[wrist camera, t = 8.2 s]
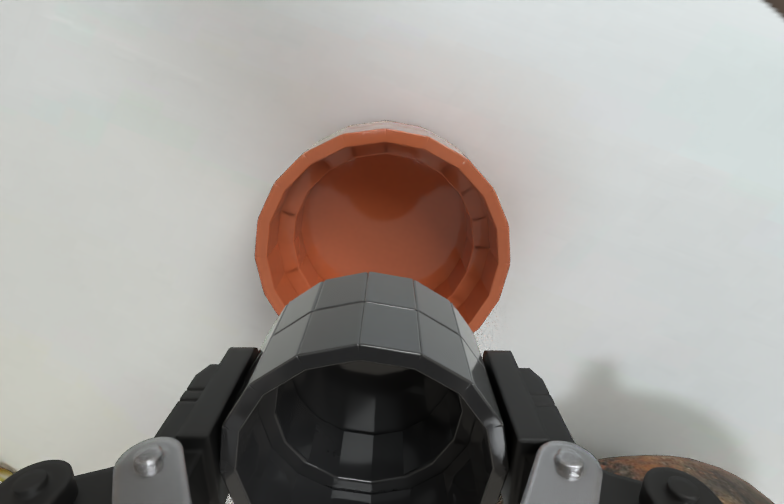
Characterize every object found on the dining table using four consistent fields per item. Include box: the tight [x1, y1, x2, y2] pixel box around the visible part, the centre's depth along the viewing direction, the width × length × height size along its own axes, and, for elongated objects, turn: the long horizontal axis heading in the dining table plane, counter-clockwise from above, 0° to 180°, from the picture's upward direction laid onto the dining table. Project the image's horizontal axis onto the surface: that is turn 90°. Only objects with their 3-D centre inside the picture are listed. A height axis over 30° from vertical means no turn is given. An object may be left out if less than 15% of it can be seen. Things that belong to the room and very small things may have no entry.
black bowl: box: [219, 272, 510, 504], centre depth 12 cm, size 6×6×4 cm
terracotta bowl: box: [255, 121, 510, 333], centre depth 24 cm, size 12×12×5 cm
